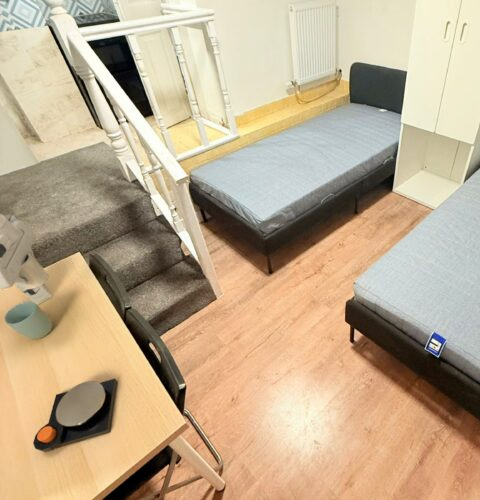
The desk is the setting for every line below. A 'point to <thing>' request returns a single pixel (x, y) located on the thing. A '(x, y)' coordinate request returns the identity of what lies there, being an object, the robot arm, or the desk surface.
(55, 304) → the desk surface
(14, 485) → the desk surface
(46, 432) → the tare button
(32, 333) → the cup
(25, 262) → the white cup
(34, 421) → the desk surface
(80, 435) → the scale
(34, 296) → the ink box
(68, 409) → the scale pan
